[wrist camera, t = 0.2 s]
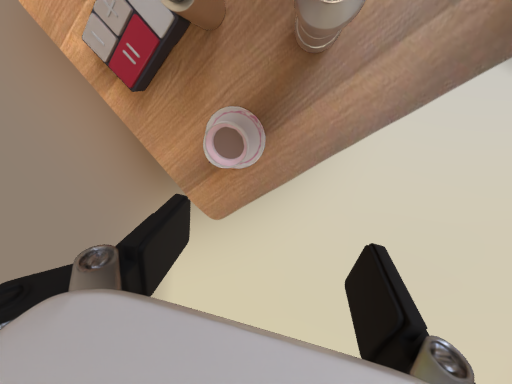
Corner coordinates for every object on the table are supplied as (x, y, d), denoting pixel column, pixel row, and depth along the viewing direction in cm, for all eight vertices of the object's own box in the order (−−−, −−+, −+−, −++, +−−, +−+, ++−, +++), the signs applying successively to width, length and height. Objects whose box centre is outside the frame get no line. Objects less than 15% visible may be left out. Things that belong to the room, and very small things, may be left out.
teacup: (234, 90, 37) (223, 91, 32) (278, 141, 40) (275, 151, 34) (194, 135, 42) (179, 143, 37) (236, 178, 45) (227, 191, 40)
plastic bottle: (285, 36, 32) (269, -20, 15) (317, -14, 29) (345, -159, 12) (317, 64, 33) (337, 44, 16) (351, 19, 30) (424, -69, 13)
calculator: (76, 37, 34) (113, -62, 27) (98, 41, 38) (136, -46, 31) (130, 93, 37) (176, 16, 30) (146, 91, 40) (191, 22, 33)
